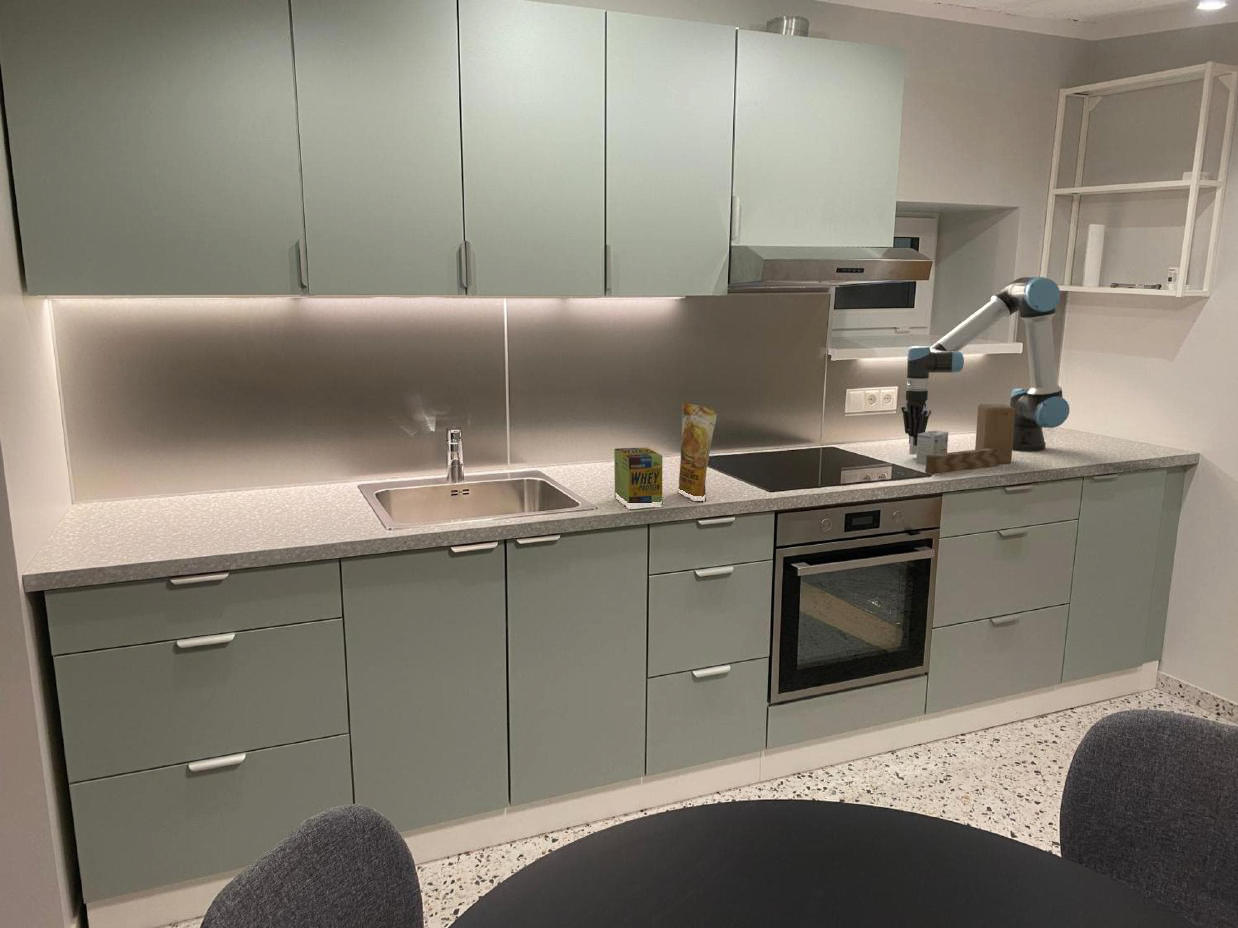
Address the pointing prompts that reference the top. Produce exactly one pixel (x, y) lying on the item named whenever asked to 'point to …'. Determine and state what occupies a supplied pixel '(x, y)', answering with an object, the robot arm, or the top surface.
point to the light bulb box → (931, 444)
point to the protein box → (638, 475)
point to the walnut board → (962, 460)
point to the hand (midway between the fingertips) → (913, 454)
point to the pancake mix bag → (695, 447)
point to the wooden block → (996, 429)
